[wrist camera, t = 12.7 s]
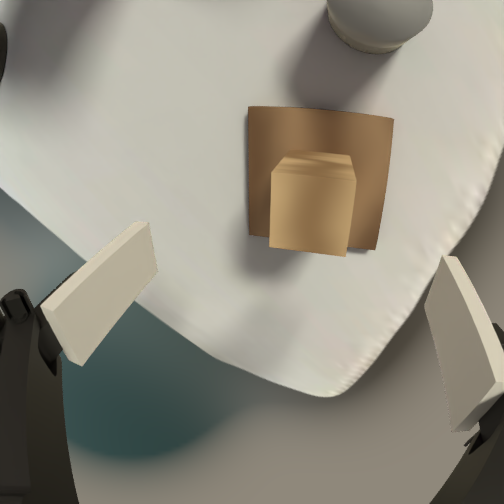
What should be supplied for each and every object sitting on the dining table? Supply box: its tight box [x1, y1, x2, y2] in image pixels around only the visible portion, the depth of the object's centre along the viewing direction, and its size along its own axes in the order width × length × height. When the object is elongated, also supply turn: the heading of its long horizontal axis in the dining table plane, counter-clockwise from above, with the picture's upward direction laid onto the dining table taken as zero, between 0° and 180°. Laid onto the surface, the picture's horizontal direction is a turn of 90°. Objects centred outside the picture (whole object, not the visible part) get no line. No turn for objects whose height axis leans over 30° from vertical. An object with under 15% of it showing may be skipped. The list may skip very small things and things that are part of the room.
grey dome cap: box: [327, 0, 433, 54], centre depth 15 cm, size 7×7×7 cm
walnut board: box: [248, 106, 394, 250], centre depth 25 cm, size 12×12×1 cm
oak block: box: [269, 150, 357, 257], centre depth 21 cm, size 5×5×8 cm
